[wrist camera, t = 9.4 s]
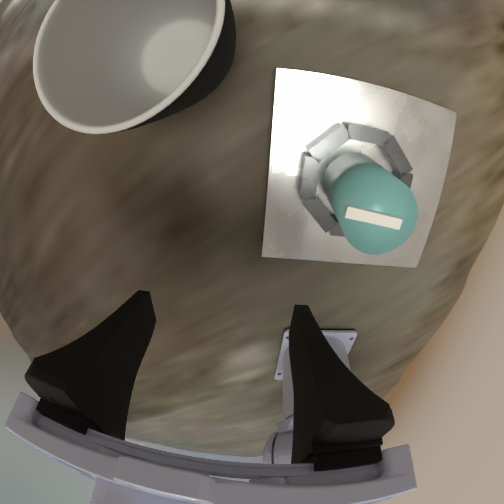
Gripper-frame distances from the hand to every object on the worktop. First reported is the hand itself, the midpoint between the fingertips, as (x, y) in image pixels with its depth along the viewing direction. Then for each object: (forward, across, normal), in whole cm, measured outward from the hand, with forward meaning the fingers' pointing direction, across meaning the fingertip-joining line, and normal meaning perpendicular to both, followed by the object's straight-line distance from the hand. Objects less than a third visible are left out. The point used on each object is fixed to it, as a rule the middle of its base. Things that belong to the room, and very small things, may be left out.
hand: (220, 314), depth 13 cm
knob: (+9, -8, -5) cm, 13 cm away
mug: (+10, +6, -13) cm, 18 cm away
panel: (+10, -9, -5) cm, 14 cm away
